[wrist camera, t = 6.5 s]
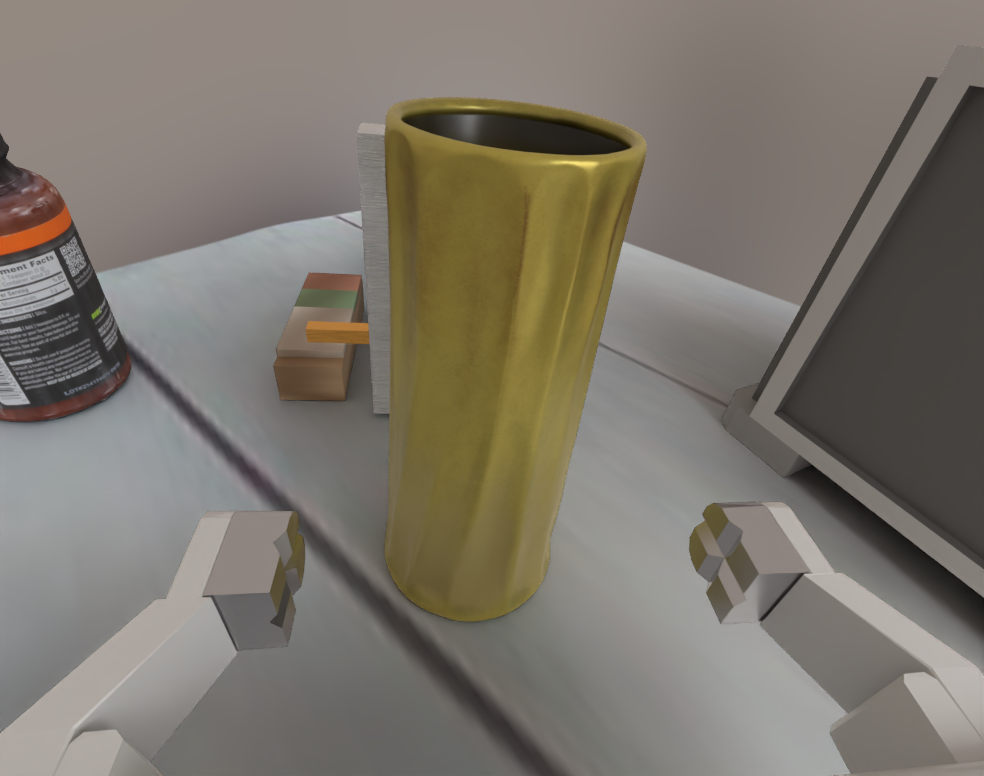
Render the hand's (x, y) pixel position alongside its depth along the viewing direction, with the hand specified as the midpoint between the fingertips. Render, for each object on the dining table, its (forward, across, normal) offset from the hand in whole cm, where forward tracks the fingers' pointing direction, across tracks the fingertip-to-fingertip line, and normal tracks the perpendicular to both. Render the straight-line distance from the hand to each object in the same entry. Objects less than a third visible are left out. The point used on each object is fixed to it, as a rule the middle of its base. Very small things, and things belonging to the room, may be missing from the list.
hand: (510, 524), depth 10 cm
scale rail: (+18, +7, +8) cm, 21 cm away
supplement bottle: (+14, +18, +8) cm, 25 cm away
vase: (+5, 0, +8) cm, 10 cm away
